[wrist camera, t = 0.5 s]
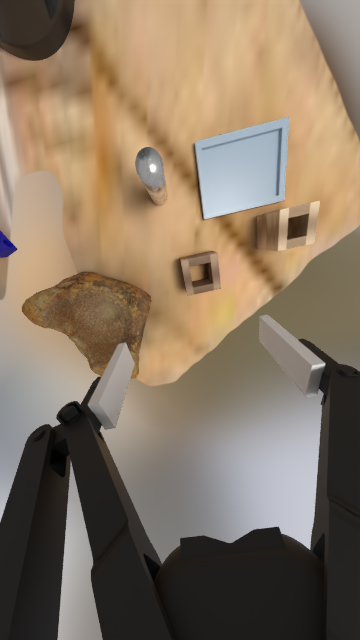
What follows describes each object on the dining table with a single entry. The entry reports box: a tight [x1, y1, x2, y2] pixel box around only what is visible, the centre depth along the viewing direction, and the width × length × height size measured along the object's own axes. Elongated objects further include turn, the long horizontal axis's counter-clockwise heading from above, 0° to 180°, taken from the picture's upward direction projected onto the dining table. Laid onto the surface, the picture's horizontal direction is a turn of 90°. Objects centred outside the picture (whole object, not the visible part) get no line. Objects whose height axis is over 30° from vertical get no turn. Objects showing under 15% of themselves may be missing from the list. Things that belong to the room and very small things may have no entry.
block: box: [257, 201, 320, 251], centre depth 30 cm, size 6×6×8 cm
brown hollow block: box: [180, 251, 221, 296], centre depth 35 cm, size 7×7×5 cm
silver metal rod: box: [135, 147, 167, 205], centre depth 25 cm, size 3×3×14 cm
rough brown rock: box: [22, 272, 151, 378], centre depth 33 cm, size 23×17×15 cm
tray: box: [194, 117, 289, 220], centre depth 29 cm, size 11×15×1 cm
